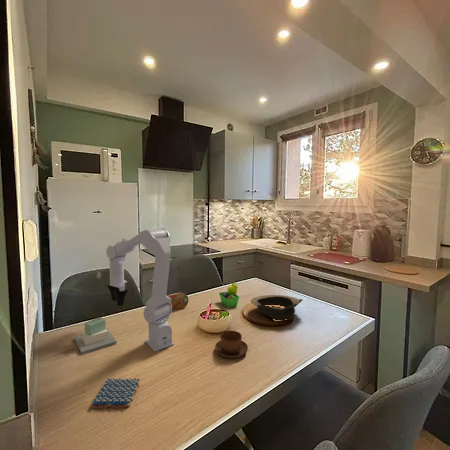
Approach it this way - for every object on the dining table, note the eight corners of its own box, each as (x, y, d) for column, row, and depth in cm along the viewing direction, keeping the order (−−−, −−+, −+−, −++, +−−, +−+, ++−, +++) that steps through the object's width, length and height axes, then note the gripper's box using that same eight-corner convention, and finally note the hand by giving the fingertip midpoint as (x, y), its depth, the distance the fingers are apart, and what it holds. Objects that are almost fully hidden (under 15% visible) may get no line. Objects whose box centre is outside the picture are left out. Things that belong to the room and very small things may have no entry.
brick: (105, 329, 103) (105, 319, 102) (90, 335, 98) (90, 325, 97) (99, 326, 105) (99, 317, 104) (84, 333, 100) (84, 322, 99)
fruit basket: (218, 301, 145) (218, 281, 144) (232, 299, 149) (232, 279, 148) (227, 308, 135) (227, 287, 134) (241, 306, 139) (242, 285, 138)
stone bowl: (293, 330, 112) (292, 308, 111) (242, 320, 125) (240, 301, 124) (307, 309, 133) (306, 292, 132) (262, 303, 146) (261, 287, 145)
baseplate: (116, 343, 100) (116, 333, 99) (81, 354, 92) (81, 343, 92) (106, 330, 111) (106, 320, 110) (74, 338, 103) (74, 329, 103)
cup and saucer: (208, 355, 93) (208, 338, 92) (224, 340, 103) (224, 325, 103) (239, 365, 87) (239, 347, 87) (252, 348, 98) (252, 332, 97)
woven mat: (141, 382, 78) (141, 376, 78) (129, 410, 68) (129, 403, 68) (106, 383, 78) (106, 376, 78) (89, 411, 68) (89, 403, 67)
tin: (161, 314, 127) (161, 297, 127) (158, 312, 130) (158, 295, 129) (188, 307, 136) (188, 292, 135) (186, 305, 138) (186, 290, 138)
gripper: (132, 274, 110) (132, 305, 111) (121, 267, 121) (121, 296, 122) (114, 277, 105) (115, 309, 106) (104, 270, 116) (105, 299, 117)
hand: (117, 302), depth 114 cm, fingers open, 7 cm apart
